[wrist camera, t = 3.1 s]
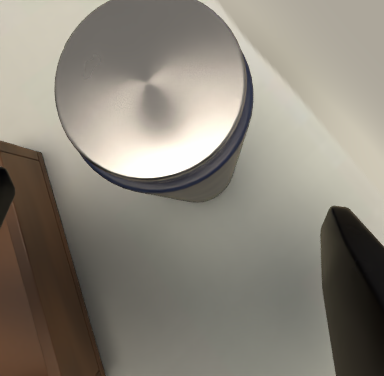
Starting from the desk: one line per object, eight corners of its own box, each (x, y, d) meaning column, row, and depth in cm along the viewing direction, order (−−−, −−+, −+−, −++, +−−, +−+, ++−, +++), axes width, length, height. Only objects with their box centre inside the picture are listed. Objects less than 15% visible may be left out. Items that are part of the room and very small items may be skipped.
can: (244, 188, 18) (289, 150, 6) (172, 212, 19) (77, 220, 6) (220, 117, 19) (217, -53, 7) (150, 141, 19) (18, 21, 7)
